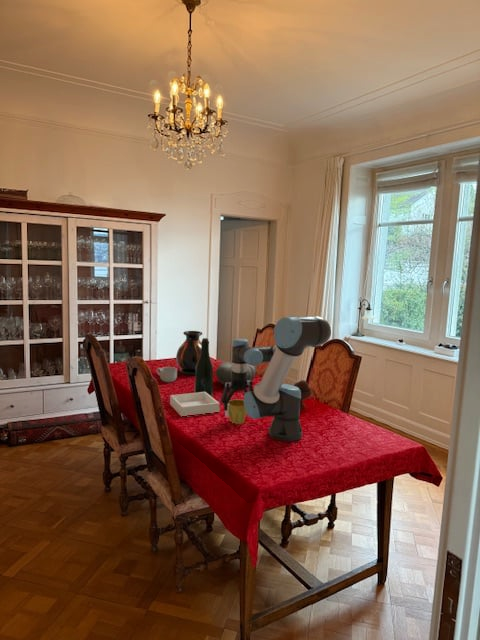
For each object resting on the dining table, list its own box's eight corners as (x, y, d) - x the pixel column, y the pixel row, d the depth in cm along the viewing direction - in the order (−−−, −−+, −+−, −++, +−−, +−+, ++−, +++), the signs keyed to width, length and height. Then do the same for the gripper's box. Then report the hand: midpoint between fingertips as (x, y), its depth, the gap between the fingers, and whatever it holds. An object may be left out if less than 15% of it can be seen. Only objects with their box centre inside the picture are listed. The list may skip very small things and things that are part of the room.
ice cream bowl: (314, 406, 242) (316, 380, 240) (302, 411, 234) (304, 383, 232) (298, 401, 249) (300, 376, 247) (286, 406, 241) (288, 379, 239)
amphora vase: (180, 367, 314) (181, 328, 310) (210, 369, 311) (211, 330, 307) (171, 375, 293) (172, 333, 289) (203, 377, 290) (205, 335, 286)
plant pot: (231, 427, 208) (232, 407, 207) (223, 419, 218) (224, 400, 216) (251, 424, 212) (252, 404, 211) (242, 417, 222) (243, 398, 220)
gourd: (264, 383, 274) (260, 356, 272) (231, 395, 261) (226, 366, 259) (242, 377, 295) (238, 352, 293) (210, 388, 282) (206, 362, 279)
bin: (219, 412, 227) (219, 403, 226) (182, 417, 218) (182, 407, 218) (205, 400, 245) (205, 391, 244) (170, 404, 236) (170, 395, 235)
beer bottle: (201, 398, 248) (203, 340, 243) (190, 393, 255) (192, 337, 251) (216, 395, 255) (218, 339, 250) (205, 390, 262) (207, 336, 258)
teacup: (180, 380, 281) (180, 368, 280) (168, 384, 272) (169, 372, 271) (163, 377, 288) (164, 365, 287) (152, 380, 279) (152, 368, 278)
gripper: (256, 367, 220) (254, 410, 223) (214, 370, 210) (212, 415, 213) (264, 371, 213) (261, 415, 216) (220, 374, 203) (218, 420, 206)
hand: (237, 415), depth 215 cm, fingers closed on plant pot, 10 cm apart
